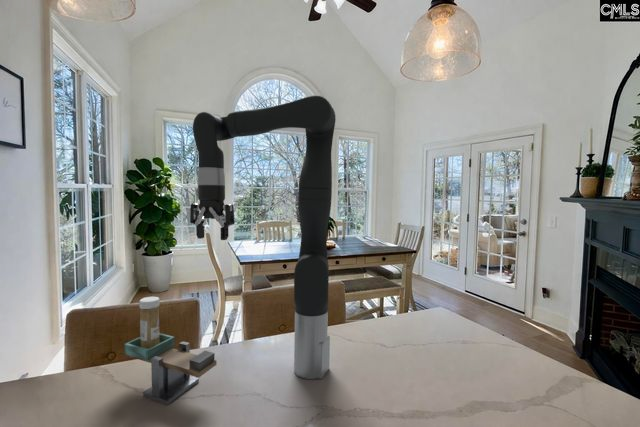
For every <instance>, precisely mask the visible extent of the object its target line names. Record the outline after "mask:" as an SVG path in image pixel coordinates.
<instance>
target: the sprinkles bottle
mask: <svg viewBox="0 0 640 427" xmlns="http://www.w3.org/2000/svg"><path fill="white" fill-rule="evenodd" d="M138 304H139V305H138V306H139V310H140V311H139V314H140V317H139V318H140V319H139V328H140V329H139V335H140V336H139V337H140V339H141V347H142V348H146V349H150V348H152V347H153V346H155V345H157V344H159V333H160V318H159V317H160V312H159V309H160V308H159V307H160V298H159V297H158V296H146V297H142V298H141V299H140V300H139V303H138Z"/></svg>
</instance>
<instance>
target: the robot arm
mask: <svg viewBox="0 0 640 427" xmlns="http://www.w3.org/2000/svg"><path fill="white" fill-rule="evenodd" d="M335 127H336V112H335V110H334V107H332V104H331V103H330V101H329V100H328V99H327V98H325V97H324V96H322V95H318V94H314V95H309V96H305V97H302V98H299V99H295V100H293V101H289V102H285V103H282V104H278V105H277V104H276V105H274V106H273V105H272V106H268V107H262V108H261V107H260V108H253V109H244V110H242V109H241V110H235V111H231V112H229V113H228V114H227V115H226V116H217V115H214V114H212V113H211V112H208V111H202V112H199V113H198V114H197V115H196V116H195V117H194V119H193V122H192V131H193V132H192V133H193V138H194V142H195V147H196V149H197V153H198V172H197V200H199V202H198V203H196V202H195V203H190V213H189V217H190V218H189V219H190V220H189V222H190V224H193V225H195V228H196V230H195V232H196V234H195V235H196V237H197V239H199V240H200V239H204V238H205V225H204V224H205V223H206V221H208V219H211V220H215V221H216V222H218V224H219V225H220V227H219V228H220V240H221V241H227V240H228V238H229V227H230V226H232V225H235V207H234V204H232V203H230V204H225V199H226V178H225V177H226V176H225V160H224V159H225V158H224V152H223V150H222V149H221V148H220V147H219V145H218V142H222V141H226V140H227V141H228V140H231V139H235V138H238V137H251V136H259V135H264V134H267V133H270V132H272V131H273V132H274V131H275V130H279V129H286V128H287V129H290V128H295V129H296V128H297V129H304V130H305V140H306V141H305V142H306V143H305V145H306V146H305V157H304V160H303V164H302V167H301V171H300V175H299V179H298V180H299V181H298V194H297V196H298V197H297V203H298V204H297V205H298V207H297V208H298V218H299V225H300V233H301V234H300V238H301V239H300V247H299V255H298V259H297V261H296V265H295V267H294V273H293V282H294V283H293V301H294V347H293V348H294V351H293V352H294V355H293V357H294V360H293V362H294V363H293V367H294V368H293V369H294V370H293V371H294V373H295V375H297V377H299V378H302V379H307V380H315V379H320V380H322V379H323V378H324V377H325V375H326V373H327V372H328V371H329V369H330V355H331V354H330V350H331V348H330V347H331V343H330V342H331V336H330V335H328V329H329V328H328V327H329V326H328V324H329V321H328V318H329V317H328V316H329V314H328V313H329V284H330V283H329V281H330V279H329V276H330V275H329V274H330V273H329V270H330V268H329V259H328V248H327V246H328V245H327V244H328V243H327V236H328V235H327V233H328V227H329V222H330V214H331V209H332V208H331V207H332V196H333V195H332V191H333V190H332V189H333V180H332V179H333V172H332V171H333V167H332V166H333V165H332V150H333V140H334V133H335Z"/></svg>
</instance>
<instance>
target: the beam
mask: <svg viewBox="0 0 640 427" xmlns="http://www.w3.org/2000/svg"><path fill="white" fill-rule="evenodd" d="M175 339H176V337H175V336H173V335H169V334H165V333H160V332H159V344H157V345H155V346H153V347H152V348H150V349H146V348H142V347H141V339H140V336H139V337H137V338H134V339H131V340H130V341H128V342H125V343H124V347H123V348H124V349H123V350H124V351H123V352H124V355H127V356H128V357H130V358H133V359H136V360H140V361H144V362H147V363H149V364H151V358H153V357H155V356H157V357H161V358H163V367H165V368H169V369H172V370H175V371H178V372H182V373H185V374H188V375H190V376H193V377H196V378H200V377H202V376H203V375H204V374H206V373H207V372H209V371H210V370H211V369H213V368H214V367H216V366H217V359H215V352H211V351H208V350H204V351H202V352H200V353H198V354H195V353H191V352H190V353H188V352H185V351H181V350H179V349H176V348H174V347H175V346H176V340H175Z"/></svg>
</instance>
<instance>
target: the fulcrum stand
mask: <svg viewBox="0 0 640 427" xmlns="http://www.w3.org/2000/svg"><path fill="white" fill-rule="evenodd" d="M190 346H191V345H190V342H186V341H181V342H179V343H178V350H181V351H185V352H188V353H191V352H190V349H191V347H190ZM150 364H151V368H150V369H151V386H150V387H149V388H147V389H146V390H144V391H142V397H143V398H146V399H150V400H151V401H155V402H158V403H161V404H163V405H166V406H168V405H170V404H171V403H173V402H174V401H175V400H176V399H178V398H180V396H182V395H183V394H185V392H187V391H189V390H190V389H191V388H192V387H194V386H195V385H197V384H198V383H199V381H200V379H199V378H200V377H199V378H198V377H195V376H191V375H188V374H185V373H182V372H178V371H175V370H172V369H169V368H165V367H163V358H161V357H157V356H155V357H153V358H151V363H150Z"/></svg>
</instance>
